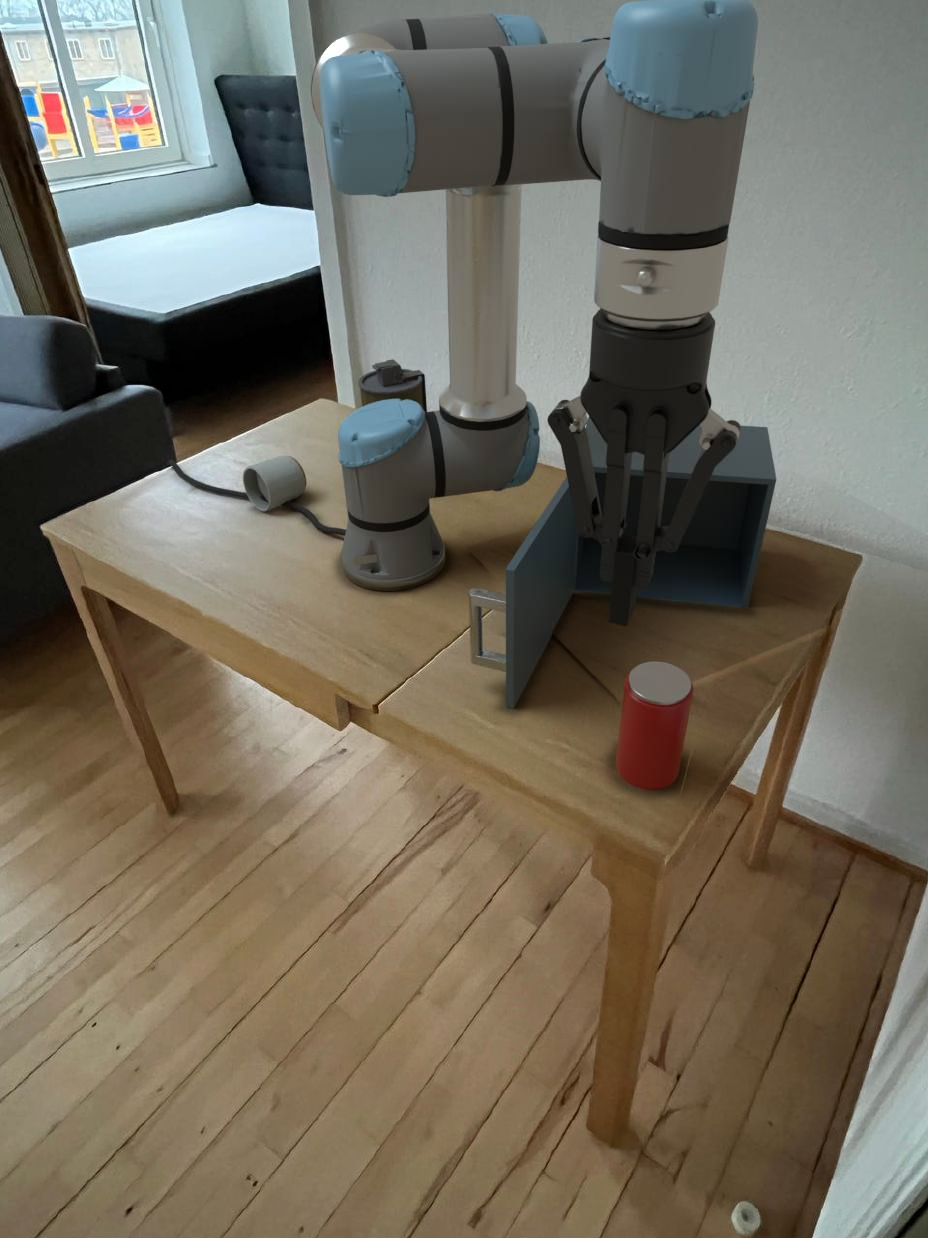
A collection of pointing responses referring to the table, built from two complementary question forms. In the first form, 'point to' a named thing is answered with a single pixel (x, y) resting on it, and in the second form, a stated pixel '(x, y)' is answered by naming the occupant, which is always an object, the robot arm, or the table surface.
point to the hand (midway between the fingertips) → (621, 614)
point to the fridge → (694, 522)
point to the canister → (392, 384)
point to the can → (653, 724)
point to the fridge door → (529, 596)
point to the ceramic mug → (274, 482)
